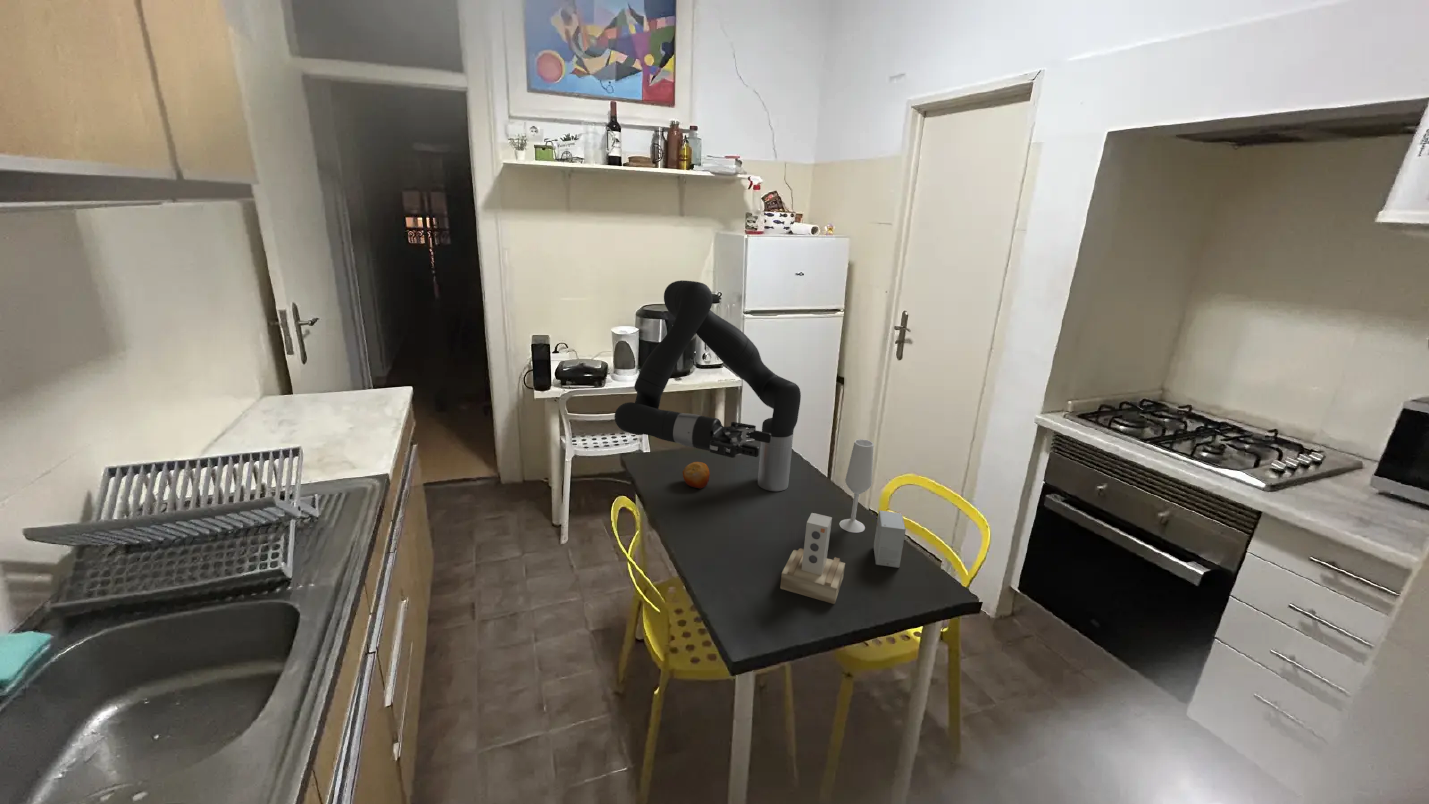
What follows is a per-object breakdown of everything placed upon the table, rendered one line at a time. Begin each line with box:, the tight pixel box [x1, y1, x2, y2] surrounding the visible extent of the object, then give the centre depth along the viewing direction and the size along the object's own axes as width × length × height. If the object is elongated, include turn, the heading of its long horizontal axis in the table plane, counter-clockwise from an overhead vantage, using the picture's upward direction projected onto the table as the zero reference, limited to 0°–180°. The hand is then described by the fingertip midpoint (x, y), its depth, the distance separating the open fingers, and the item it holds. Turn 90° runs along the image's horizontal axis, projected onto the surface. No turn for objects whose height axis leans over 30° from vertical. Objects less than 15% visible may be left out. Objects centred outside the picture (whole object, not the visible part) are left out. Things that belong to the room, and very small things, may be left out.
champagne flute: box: [839, 438, 875, 534], centre depth 147 cm, size 7×7×24 cm
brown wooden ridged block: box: [780, 547, 846, 605], centre depth 126 cm, size 10×12×5 cm
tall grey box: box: [802, 512, 833, 575], centre depth 124 cm, size 5×4×12 cm
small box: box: [873, 510, 906, 568], centre depth 137 cm, size 8×6×10 cm
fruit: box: [682, 461, 711, 489], centre depth 169 cm, size 8×8×8 cm
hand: (765, 445), depth 124 cm, fingers open, 8 cm apart
